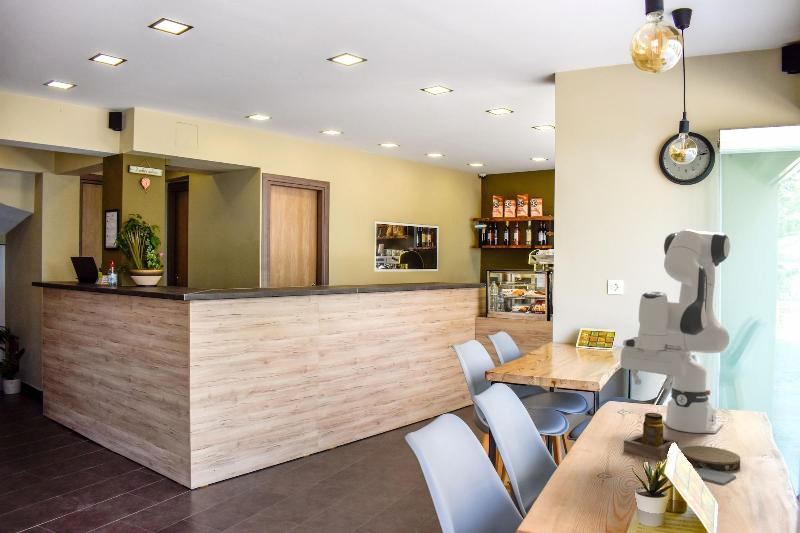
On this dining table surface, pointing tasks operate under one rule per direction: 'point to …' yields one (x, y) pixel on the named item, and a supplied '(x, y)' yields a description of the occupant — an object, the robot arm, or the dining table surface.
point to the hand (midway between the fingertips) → (651, 386)
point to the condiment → (653, 429)
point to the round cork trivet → (712, 458)
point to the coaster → (715, 476)
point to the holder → (647, 448)
